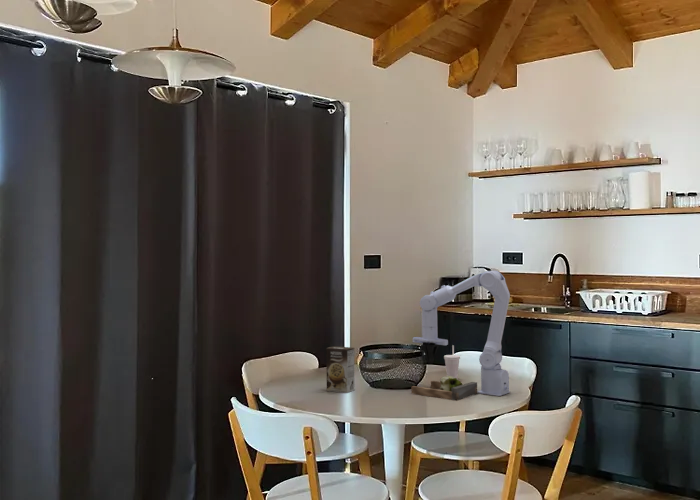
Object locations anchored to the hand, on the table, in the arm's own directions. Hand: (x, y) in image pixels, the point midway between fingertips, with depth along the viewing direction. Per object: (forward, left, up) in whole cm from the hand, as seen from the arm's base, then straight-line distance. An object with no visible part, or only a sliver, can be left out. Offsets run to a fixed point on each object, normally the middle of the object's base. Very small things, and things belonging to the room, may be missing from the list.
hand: (430, 363), depth 257 cm
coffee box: (+25, +23, -10) cm, 35 cm away
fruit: (-11, +4, -10) cm, 15 cm away
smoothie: (+2, -18, -10) cm, 21 cm away
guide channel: (-9, +5, -10) cm, 14 cm away
